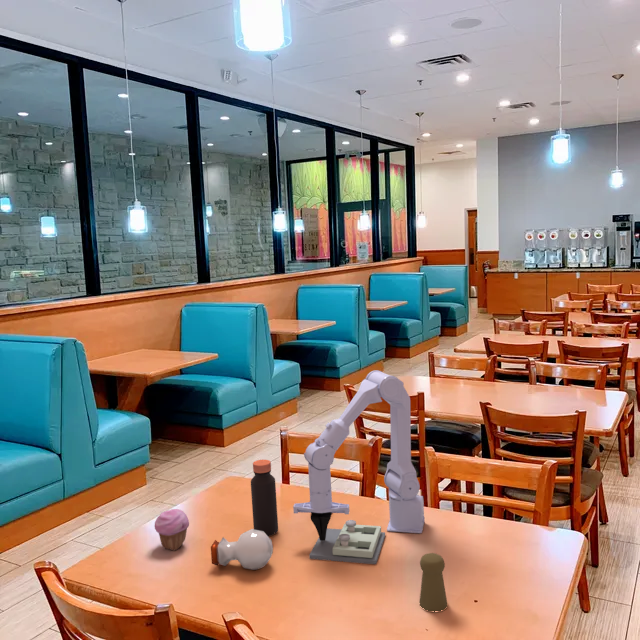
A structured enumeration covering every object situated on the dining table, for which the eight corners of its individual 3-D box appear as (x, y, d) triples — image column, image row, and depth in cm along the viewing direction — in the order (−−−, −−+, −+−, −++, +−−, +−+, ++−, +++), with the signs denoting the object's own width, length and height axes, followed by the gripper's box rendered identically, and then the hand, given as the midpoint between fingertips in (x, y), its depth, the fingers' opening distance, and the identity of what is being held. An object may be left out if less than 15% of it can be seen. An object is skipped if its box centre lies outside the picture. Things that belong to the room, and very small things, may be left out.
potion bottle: (276, 575, 152) (218, 580, 154) (278, 538, 159) (223, 543, 161) (266, 557, 146) (205, 563, 148) (269, 519, 153) (211, 525, 155)
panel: (332, 554, 155) (332, 548, 155) (344, 529, 168) (344, 523, 168) (372, 558, 152) (371, 551, 152) (381, 531, 166) (380, 526, 166)
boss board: (309, 558, 156) (308, 540, 156) (324, 531, 170) (323, 514, 170) (376, 564, 152) (375, 545, 151) (385, 535, 166) (384, 518, 166)
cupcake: (150, 550, 165) (146, 514, 163) (172, 536, 172) (169, 502, 171) (176, 557, 160) (172, 520, 159) (197, 542, 168) (194, 507, 167)
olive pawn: (416, 597, 137) (414, 550, 135) (443, 595, 137) (441, 548, 136) (423, 613, 131) (421, 564, 129) (451, 611, 131) (449, 562, 130)
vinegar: (280, 526, 175) (276, 458, 173) (276, 537, 169) (271, 466, 166) (256, 526, 176) (252, 458, 174) (251, 537, 169) (246, 467, 167)
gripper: (349, 483, 164) (351, 532, 165) (295, 482, 166) (298, 531, 168) (346, 494, 157) (349, 545, 158) (290, 493, 159) (293, 543, 161)
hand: (322, 538), depth 163 cm, fingers closed
